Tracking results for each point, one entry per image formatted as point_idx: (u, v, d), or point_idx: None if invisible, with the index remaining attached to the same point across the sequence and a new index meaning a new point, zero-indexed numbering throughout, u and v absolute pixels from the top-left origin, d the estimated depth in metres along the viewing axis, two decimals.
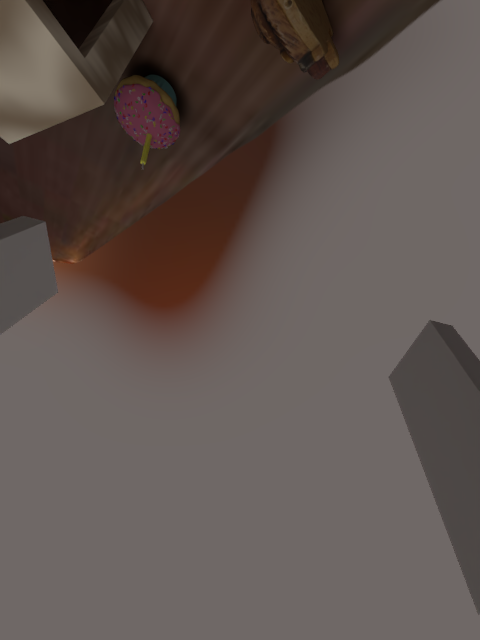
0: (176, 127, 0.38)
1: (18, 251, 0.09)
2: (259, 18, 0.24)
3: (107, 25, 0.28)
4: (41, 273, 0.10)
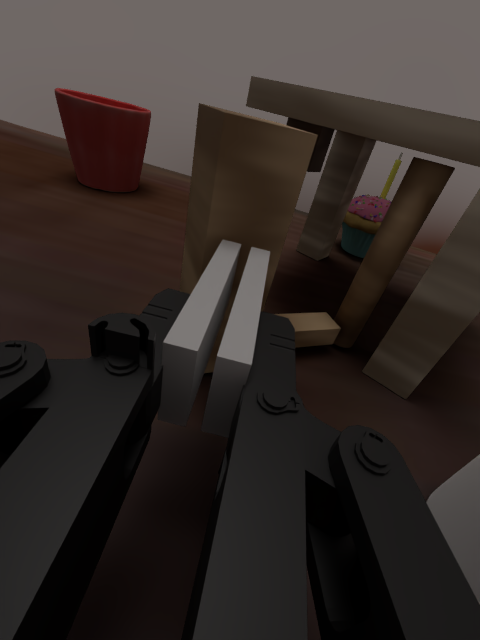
0: None
1: (233, 269, 0.11)
2: None
3: (318, 188, 0.31)
4: (231, 286, 0.12)
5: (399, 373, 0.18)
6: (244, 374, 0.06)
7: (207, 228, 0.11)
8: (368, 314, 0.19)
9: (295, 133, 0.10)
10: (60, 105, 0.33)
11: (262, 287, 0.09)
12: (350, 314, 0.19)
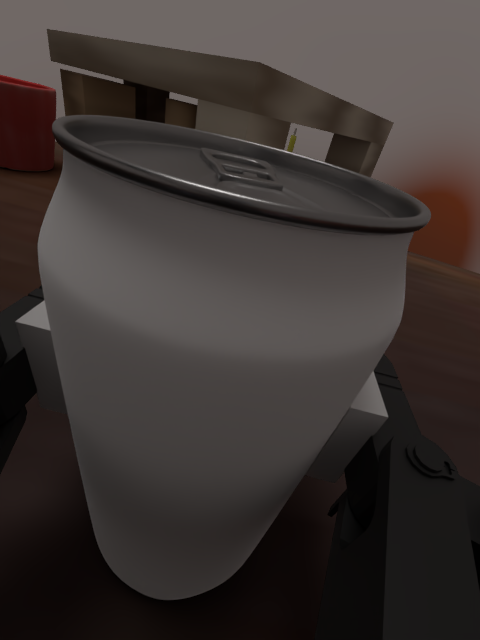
0: None
1: None
2: None
3: None
4: None
5: None
6: (377, 426, 0.06)
7: None
8: None
9: (76, 75, 0.18)
10: None
11: None
12: None
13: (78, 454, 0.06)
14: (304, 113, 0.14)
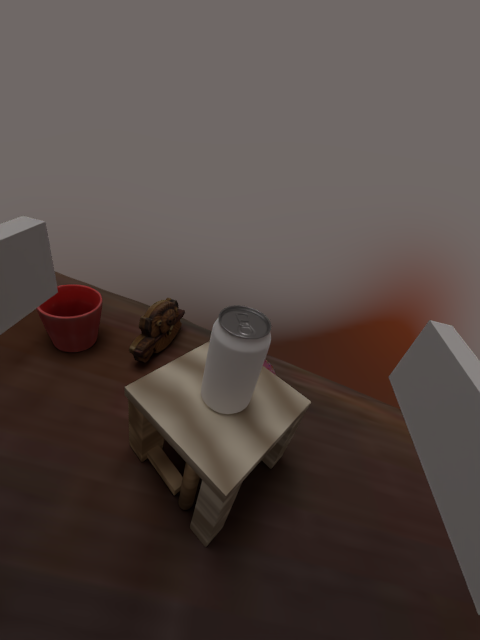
0: None
1: (18, 251, 0.09)
2: (165, 313, 0.57)
3: None
4: (41, 273, 0.10)
5: (201, 535, 0.36)
6: None
7: (129, 410, 0.39)
8: (182, 497, 0.37)
9: None
10: (38, 313, 0.51)
11: None
12: (180, 489, 0.38)
13: (212, 370, 0.32)
14: (249, 472, 0.31)
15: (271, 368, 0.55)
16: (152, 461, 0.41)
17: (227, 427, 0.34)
